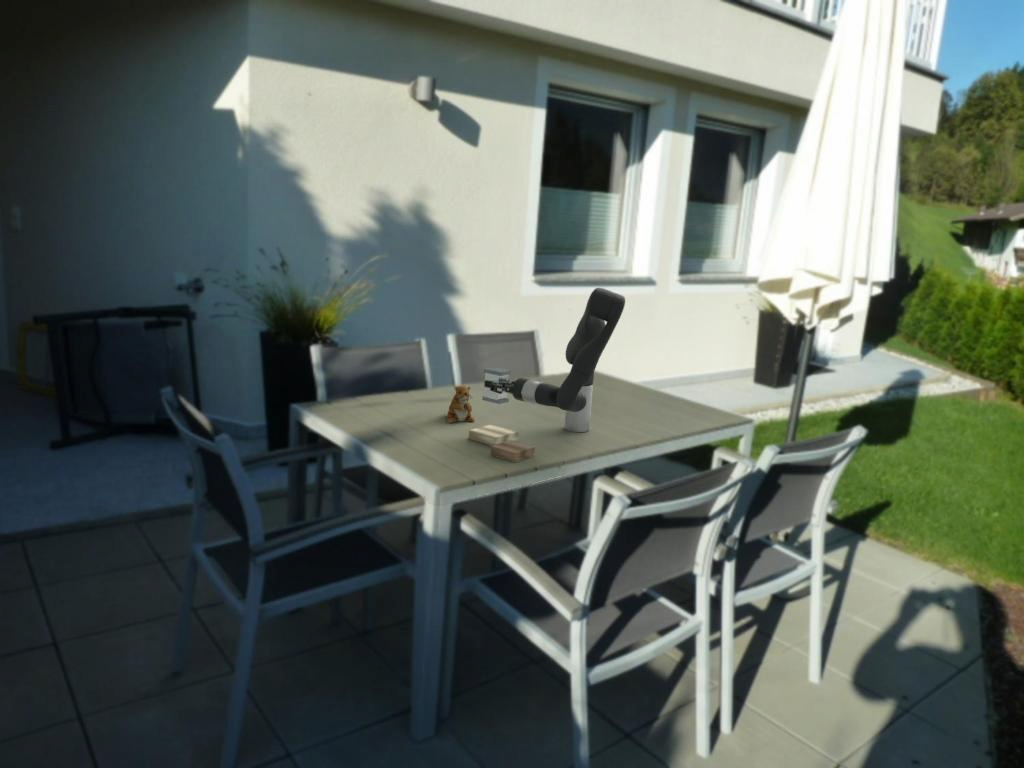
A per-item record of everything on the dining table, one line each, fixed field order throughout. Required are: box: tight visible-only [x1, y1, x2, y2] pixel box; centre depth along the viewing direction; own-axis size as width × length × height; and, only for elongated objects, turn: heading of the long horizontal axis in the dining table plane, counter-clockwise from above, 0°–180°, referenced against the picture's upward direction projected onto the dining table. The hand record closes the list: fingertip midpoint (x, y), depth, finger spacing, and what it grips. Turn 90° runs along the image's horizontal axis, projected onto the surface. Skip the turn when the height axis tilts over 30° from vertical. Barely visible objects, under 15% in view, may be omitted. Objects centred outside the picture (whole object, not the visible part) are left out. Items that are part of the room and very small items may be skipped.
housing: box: [482, 367, 511, 405], centre depth 257 cm, size 5×8×11 cm, turn 51°
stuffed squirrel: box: [446, 385, 476, 424], centre depth 283 cm, size 10×14×13 cm
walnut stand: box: [490, 440, 536, 463], centre depth 244 cm, size 10×10×3 cm
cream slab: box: [468, 423, 519, 446], centre depth 261 cm, size 12×12×3 cm
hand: (490, 382), depth 258 cm, fingers closed on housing, 5 cm apart
